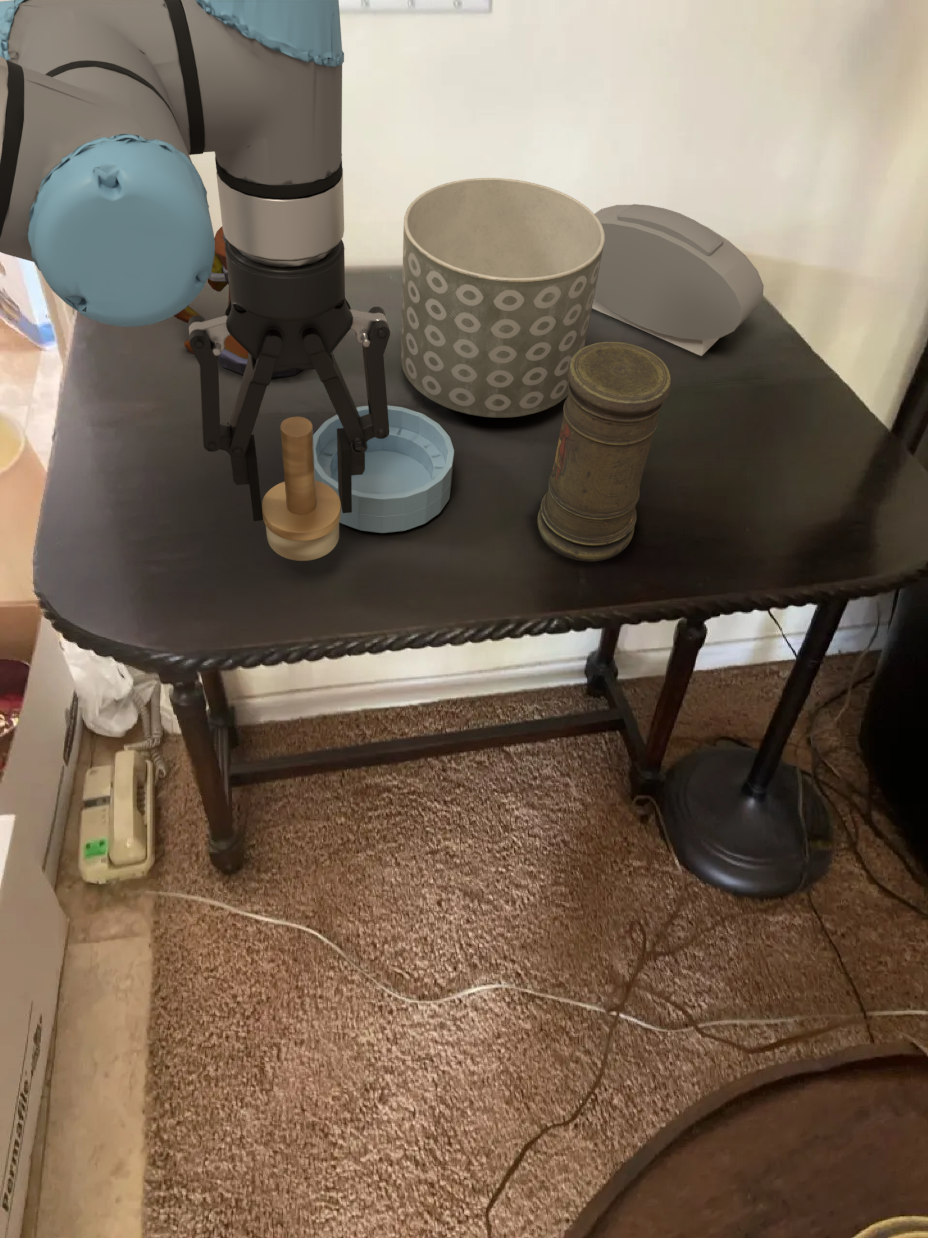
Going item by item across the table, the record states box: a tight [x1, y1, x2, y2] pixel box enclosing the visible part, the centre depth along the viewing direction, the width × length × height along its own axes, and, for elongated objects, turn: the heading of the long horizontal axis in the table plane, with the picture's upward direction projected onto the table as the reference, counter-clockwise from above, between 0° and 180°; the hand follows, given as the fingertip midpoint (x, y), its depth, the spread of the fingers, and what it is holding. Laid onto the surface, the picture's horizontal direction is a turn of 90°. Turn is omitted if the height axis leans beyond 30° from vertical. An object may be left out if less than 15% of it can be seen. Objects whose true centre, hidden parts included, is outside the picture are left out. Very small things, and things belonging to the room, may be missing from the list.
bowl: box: [313, 404, 455, 534], centre depth 91 cm, size 13×13×5 cm
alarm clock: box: [592, 203, 765, 357], centre depth 110 cm, size 23×6×13 cm, turn 54°
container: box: [536, 341, 672, 563], centre depth 85 cm, size 9×9×18 cm
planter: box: [400, 177, 605, 419], centre depth 98 cm, size 19×19×18 cm
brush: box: [261, 416, 341, 562], centre depth 77 cm, size 6×6×12 cm
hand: (301, 504), depth 79 cm, fingers closed on brush, 6 cm apart
